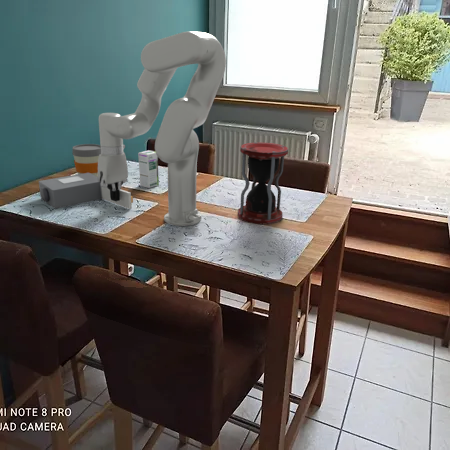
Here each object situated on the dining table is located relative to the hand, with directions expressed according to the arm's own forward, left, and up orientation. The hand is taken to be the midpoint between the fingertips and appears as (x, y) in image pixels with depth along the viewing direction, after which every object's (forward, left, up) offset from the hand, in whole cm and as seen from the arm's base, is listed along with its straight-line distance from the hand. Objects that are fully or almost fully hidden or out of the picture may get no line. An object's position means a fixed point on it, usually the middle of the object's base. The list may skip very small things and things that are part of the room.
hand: (115, 200), depth 155 cm
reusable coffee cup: (+37, -8, -4) cm, 38 cm away
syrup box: (+17, -25, -4) cm, 30 cm away
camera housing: (+20, +7, -3) cm, 21 cm away
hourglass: (-37, -37, -4) cm, 52 cm away
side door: (+4, -3, -3) cm, 6 cm away
